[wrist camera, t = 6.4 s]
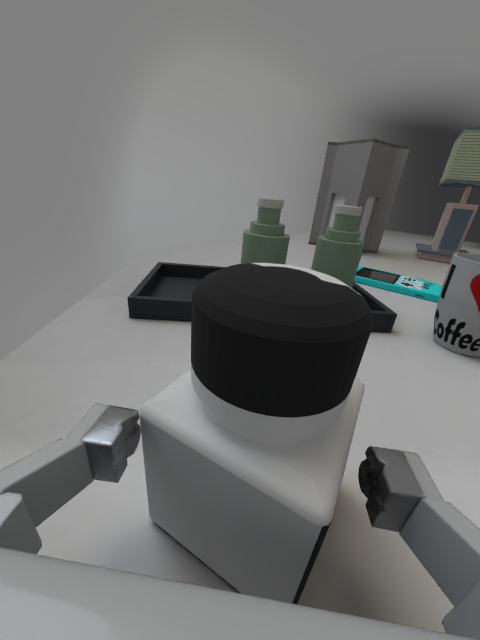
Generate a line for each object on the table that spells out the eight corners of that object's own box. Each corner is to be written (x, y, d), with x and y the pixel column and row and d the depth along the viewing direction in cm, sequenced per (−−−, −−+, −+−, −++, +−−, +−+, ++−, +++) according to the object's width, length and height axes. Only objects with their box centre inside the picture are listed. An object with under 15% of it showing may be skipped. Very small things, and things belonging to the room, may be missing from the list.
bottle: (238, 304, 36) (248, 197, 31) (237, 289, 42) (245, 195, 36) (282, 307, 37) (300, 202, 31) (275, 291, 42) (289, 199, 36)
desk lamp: (472, 268, 75) (540, 126, 61) (415, 258, 81) (464, 126, 67) (462, 257, 90) (514, 141, 76) (413, 250, 96) (454, 140, 82)
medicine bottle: (286, 634, 10) (398, 365, 5) (146, 518, 13) (119, 275, 8) (331, 478, 16) (405, 277, 10) (227, 422, 19) (243, 245, 13)
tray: (129, 317, 31) (127, 297, 30) (159, 276, 45) (158, 262, 44) (390, 332, 34) (397, 314, 33) (342, 289, 48) (346, 275, 47)
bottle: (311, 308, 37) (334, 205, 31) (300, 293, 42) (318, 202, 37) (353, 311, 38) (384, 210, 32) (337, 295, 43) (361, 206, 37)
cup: (404, 331, 34) (436, 252, 30) (449, 326, 37) (484, 253, 33) (470, 369, 28) (524, 273, 23) (519, 360, 30) (575, 273, 26)
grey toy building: (376, 252, 85) (408, 147, 73) (381, 258, 76) (418, 140, 64) (308, 242, 90) (328, 143, 77) (306, 247, 81) (328, 136, 69)
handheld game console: (438, 303, 46) (442, 295, 45) (343, 279, 54) (345, 272, 53) (440, 289, 53) (443, 282, 52) (357, 270, 61) (358, 264, 60)
